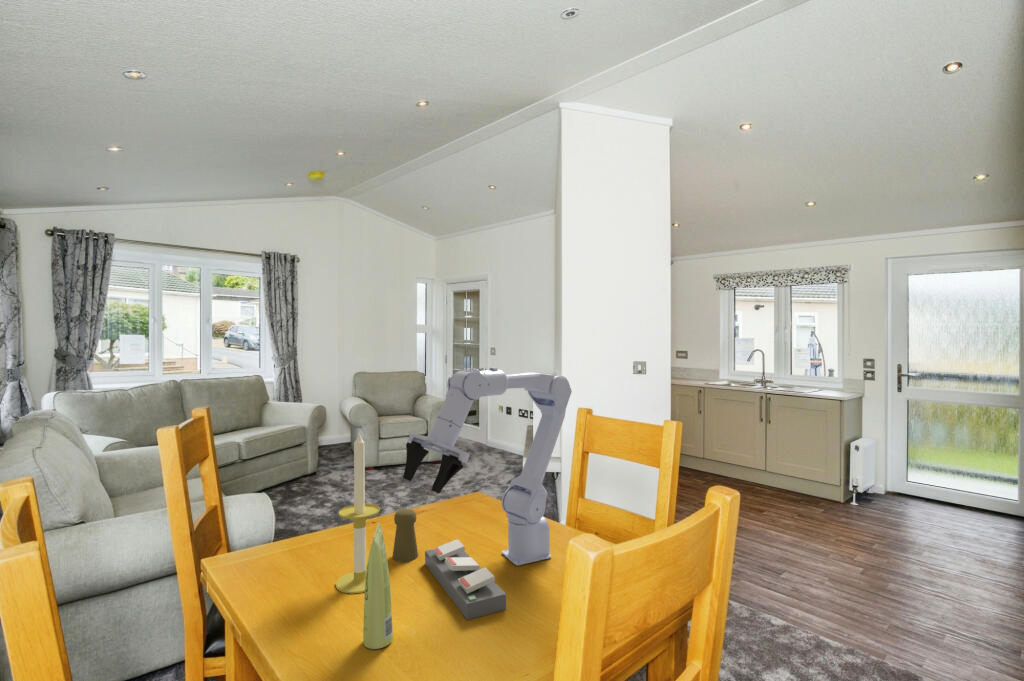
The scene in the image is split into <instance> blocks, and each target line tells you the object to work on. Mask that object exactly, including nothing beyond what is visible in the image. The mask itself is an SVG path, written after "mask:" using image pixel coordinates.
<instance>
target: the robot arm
mask: <svg viewBox="0 0 1024 681" xmlns="http://www.w3.org/2000/svg"><path fill="white" fill-rule="evenodd" d="M446 388H447V392H446V394H445V399H444V401H443V403H442V405H441V408H440V409H439V411H438V414H437V415H436V418H435V420H434V423H433V425H432V427H431V429H430V431H429V433H428V434H427V436H424V435H421V434H418V433H414V432H411V433H410V434H409V437H408V438H407V442H406V444H405V447H406V461H405V466H404V472H403V476H402V479H404V480H406V481H409V482H411V481H412V480H413V478H414V476H416V475H415V474H416V473H417V470H418V468H419V467H420V464H421V463H422V462H423V460H424V459H425V457H426V456H427V455H428V454H429V452H430V451H429V450H431V451H433V452H436V453H438V454H441V461H440V466H439V470H438V473H437V475H436V477H435V479H434V481H433V484H432V488H431V491H433V492H434V493H437V494H440V493H441V491H442V490H443V489H444V487H445V486H446V485H447V484H448V482H449V481H450V480H451V479H452V478H454V476H455V475H456V474H457V473H458V472H460V471H462V469H463V468H464V464H467V462H468V461H469V458H470V456H471V455H470V453H468V452H466V451H464V450H462V449H459V448H456V447H454V446H455V444H456V441H457V439H458V438H459V436H460V433H461V431H462V428H463V427H464V423H465V422H466V419H467V417H468V415H469V412H470V410H471V407H472V406H473V403H474V401H475V400H476V401H477V400H479V399H481V398H482V397H491V396H501V395H503V394H505V392H506V391H507V389H508V390H509V389H524V391H527V394H528V396H529V398H530V399H531V400H532V401H533V403H534V404H535V406H536V407H537V409H539V411H540V413H541V418H540V421H539V423H538V426H537V428H536V431H535V434H534V436H533V437H534V438H533V440H532V443H531V446H530V448H529V451H528V454H527V457H526V458H525V462H524V466H523V468H522V470H521V473H520V475H518V476H517V477H515V478H512V479H511V481H510V484H509V486H508V487H507V489H505V491H504V492H503V495H502V496H501V507H502V510H503V511H504V512H505V513H506V518H507V521H508V522H507V523H508V524H507V525H508V527H507V531H508V532H507V533H508V536H507V537H508V538H507V539H508V540H507V542H508V545H507V547H508V549H504V550H502V551H501V554H502V555H503V556H504V557H506V559H508V560H509V561H510V562H511V563H513V565H515V566H522V565H526V564H530V563H536V562H539V561H543V560H547V559H551V558H552V555H551V553H550V550H551V549H550V546H551V544H550V541H551V540H550V526H549V522H548V521H547V519H546V517H544V516H545V515H544V514H545V512H546V505H547V504H546V501H547V498H548V495H549V494H548V491H547V490H546V488H545V486H544V485H543V481H544V479H545V476H546V472H547V469H548V466H549V464H550V460H551V458H552V455H553V452H554V449H555V446H556V445H557V444H556V443H557V440H558V438H559V435H560V432H561V428H562V426H563V423H564V420H565V417H566V410H567V406H568V403H569V401H570V397H571V395H572V388H571V385H570V382H569V380H568V378H567V377H566V376H564V375H555V374H548V373H539V372H521V373H512V374H511V373H510V374H506V373H505V372H504V370H501V369H499V368H498V367H493V366H492V367H489V369H488V370H480V369H479V368H473V369H472V371H467V370H465V371H462V370H458V371H456V372H455V373H453V374H452V375H451V377H448V379H447V382H446ZM462 463H464V464H462Z"/></svg>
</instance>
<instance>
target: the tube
mask: <svg viewBox="0 0 1024 681" xmlns="http://www.w3.org/2000/svg"><path fill="white" fill-rule="evenodd" d="M388 564H389V563H388V557H387V549H386V541H385V538H384V533H383V529H382V526H381V522H380V521H378V523H377V526H376V530H375V532H374V535H373V538H372V541H371V544H370V548H369V552H368V559H367V564H366V570H367V572H366V582H365V592H364V600H363V601H364V602H363V636H362V638H363V645H364V646H365V647H366V648H368V649H370V650H378V649H382V648H384V647H387V646H388V645H390V644H391V643H392V641H393V640H394V638H393V636H394V634H393V633H394V632H393V611H392V610H393V609H392V608H393V607H392V606H393V604H392V595H391V594H392V592H391V582H390V570H389V565H388Z"/></svg>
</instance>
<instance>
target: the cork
mask: <svg viewBox="0 0 1024 681" xmlns="http://www.w3.org/2000/svg"><path fill="white" fill-rule="evenodd" d="M393 519H394V524H395V526H396V527H395V528H396V529H395V534H394V542H393V551H392V560H393V561H395V562H398V563H407V562H408V563H409V562H411V561H415V560H416V559H418V557H419V551H418V545H417V537H416V536H417V535H416V530H415V523H416V521H417V514H416V511H415V510H413V509H411V508H404V509H402V508H401V509H399V510H397V511H396V512H395V514H394V517H393Z"/></svg>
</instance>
